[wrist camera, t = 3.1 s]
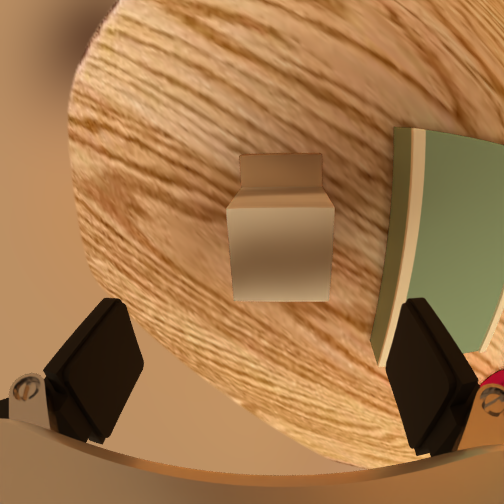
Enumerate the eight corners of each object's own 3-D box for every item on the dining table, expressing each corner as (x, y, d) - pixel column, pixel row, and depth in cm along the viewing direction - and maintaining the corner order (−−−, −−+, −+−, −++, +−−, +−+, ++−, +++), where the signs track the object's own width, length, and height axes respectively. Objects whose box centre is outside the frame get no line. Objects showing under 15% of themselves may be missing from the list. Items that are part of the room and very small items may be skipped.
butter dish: (241, 154, 19) (222, 165, 13) (319, 153, 18) (335, 164, 12) (249, 278, 22) (236, 330, 17) (317, 278, 22) (325, 331, 16)
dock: (393, 127, 17) (413, 128, 14) (509, 147, 15) (535, 154, 12) (370, 340, 23) (378, 367, 20) (471, 330, 22) (485, 351, 19)
